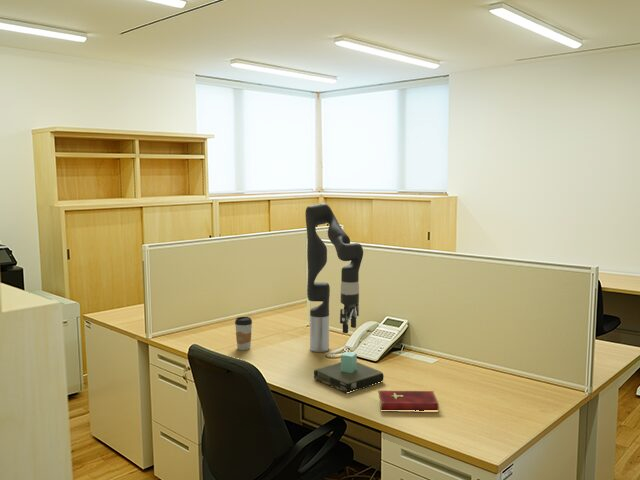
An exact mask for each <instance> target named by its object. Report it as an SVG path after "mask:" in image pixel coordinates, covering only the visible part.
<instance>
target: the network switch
mask: <svg viewBox="0 0 640 480" xmlns="http://www.w3.org/2000/svg"><path fill="white" fill-rule="evenodd" d="M313 379H316V380H315V381H319V382H320V381H321V382H320V383H323V384H325V385H328V386H329V385H330V386H329V387H331V386H333V387H332V388H334V389H336V390H340V391H341V390H342V392H343V391H344V392H343V393H346V392H350V391H353V390H356V389H359V388H362V389H364V388H363V387H365V388H367V387H366V386H368V387H370V386H369V385H372V384H375V383H378V382H381V381H382V382H383V381H384V373H383V371H381V370H379V369H376V368H374V367H371V366H369V365H366V364H363V363H361V362H358V361H357V369H356V370H355V371H354V372H353V373H348V372H342V371H341V361H340V362H337V363H334V364H329V365H326V366H322V367H320V368H316V369H314V371H313Z"/></svg>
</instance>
